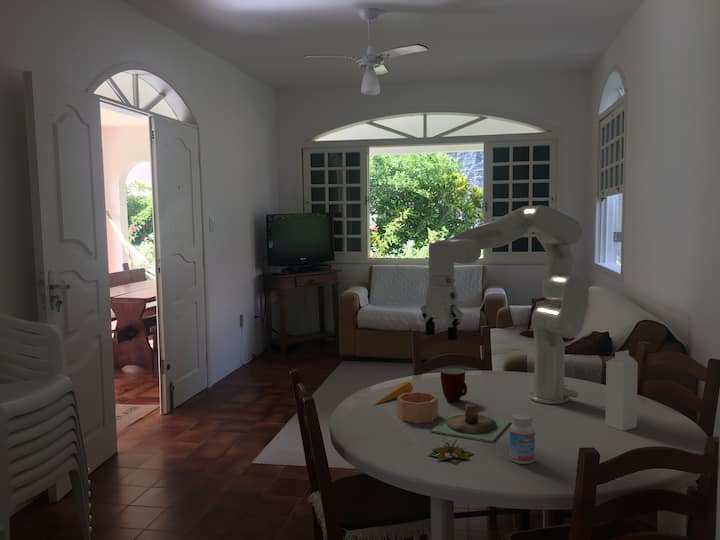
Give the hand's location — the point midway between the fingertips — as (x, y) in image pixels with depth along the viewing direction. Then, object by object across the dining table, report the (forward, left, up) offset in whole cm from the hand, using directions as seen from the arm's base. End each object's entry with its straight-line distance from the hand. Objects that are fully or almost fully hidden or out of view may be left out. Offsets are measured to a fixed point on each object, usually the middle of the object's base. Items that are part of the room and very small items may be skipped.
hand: (441, 337), depth 181 cm
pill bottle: (-30, +21, -25) cm, 45 cm away
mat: (-11, +4, -25) cm, 28 cm away
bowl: (+7, +2, -25) cm, 26 cm away
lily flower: (-13, +26, -26) cm, 39 cm away
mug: (+2, -18, -25) cm, 31 cm away
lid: (-11, +4, -24) cm, 27 cm away
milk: (-49, -16, -25) cm, 57 cm away
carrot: (+23, -11, -25) cm, 36 cm away
